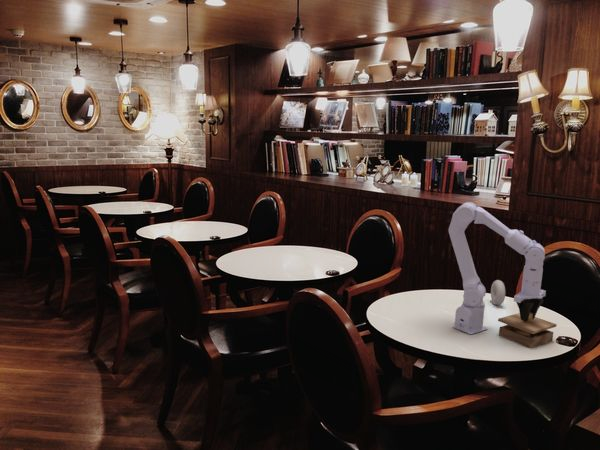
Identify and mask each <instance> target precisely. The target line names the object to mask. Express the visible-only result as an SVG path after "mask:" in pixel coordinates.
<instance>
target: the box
mask: <svg viewBox="0 0 600 450" xmlns="http://www.w3.org/2000/svg"><path fill="white" fill-rule="evenodd" d="M517 330H521V329H518V328H516V327H513V326H510V325H507V324H505V325H502V326H500V327H499V331H498V336H500V337H502V338H505V339H507V340H510V341H512V342H514V343H517V344H520V345H522V346H525V347H527V348H530V349H532V348H534V347H538V346H541V345H544V344H547V343H550V342H552V341H553V340H554V339H553V337H554V332H553V331H551V330H549V329H547V330H544V331H541V332H538V333H534V334H532V333H530V335H533V337H531V336H529V337H527V336H525V335H522V334H520V333H517Z"/></svg>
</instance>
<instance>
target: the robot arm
mask: <svg viewBox="0 0 600 450" xmlns="http://www.w3.org/2000/svg"><path fill="white" fill-rule="evenodd" d="M473 221H474V222H473ZM472 222H473V223H474V224H477V225H478V224H479V225H480V224H482V225H485V226H487V227H488V228H489V229H491V230H493V231H494V232H496V233H497V234H499V236H502V237H503V238H504V243H505V244H506V245H507V246H508V247H510V248H511V249H513V250H514V251H516V252H517V253H519V255H523V256H524V258H525V263H524V264H525V265H524V266H523V273H522V281H521V291H519V292H518V293H516V294H515V295H514V297H513V302H515V303H516V305H517V307H518V310H519V313H520V317H521V320H523V321H528V318H529V314H530V312H532V313H533V318H532V320H533V319H534V318H535V317H536V315H537V313H538V310H539V309H540V307H541V305H542V304H543V303H544V299H543V298H544V297H546V295H547V293H546V292H547V290H544V289H542V288H541V287H542V280H543V272H544V269H543V268H544V267H543V266H544V261H545V258H546V256H545V254H546V250H545V248H544V246H543V245H541V243H540V242H539V243H538V242H537V241H536V240H535V239H533V240H532V239H531V238H530V237H528V235H527V236H526V235H525V233H524V232H525V231H523V230H521V229H519V230H518V229H516V228H515V229H510V228H509V227H508V226H506V225H505V224H503V222H501V221H500V220H498V219H497V218H496V217H495V216H493V215H492V214H491V213H489V212H488V211H487V210H485V209H484V208H483V207H482V206H477V204H476V203H474V202H472V201H466V202H464V203H463V204H461V205H460V206H458V207H457V208H456V210H455V211H454V212H453V214H452V217H451V221H450V224H449V226H448V234H449V239H450V241H451V245H452V247H453V251H454V254H455V257H456V261H457V265H458V268H459V272H460V274H461V275H460V276H461V278H462V287H463V295H462V296H463V301H462V304H461V305H460V306H459V307H457V308H456V310H455V318H454V325H452V328H454V329H455V330H459V331H461V332H464V333H466V334H469V335H473V334H477V333H481V332H484V331H487V330H489V328H488V327H486V326H484V319H485V318H484V317H485V316H484V315H485V305H486V303H485V301H484V297H485V296H486V293H487V290H486V287H485V286H484V284H483V283H482V282H481V279H480V277H479V276H478V273H477V271H476V268H475V264H474V261H473V260H474V259H473V256H472V254H471V251H470V247H469V244H468V241H467V238H466V237H467V236H466V234H465V231H466V229H467V228H468V227H469V225H470V224H471V223H472Z"/></svg>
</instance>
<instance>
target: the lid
mask: <svg viewBox="0 0 600 450" xmlns="http://www.w3.org/2000/svg"><path fill="white" fill-rule="evenodd" d="M532 318H533V313H532V312H530V314H529V318H528V321H523V320H521V317H520V312H518V313H514V314H511V315H510V314H509V315H507V316H503V317H500V318H497V319H498V320H497V321H498V322H500V323H503V324H505V325H510V326H513V327H516V328H518V329H521V330H524V331H526V332H529V333H532V334H531V335H533V334H534V333H538V332H541V331H544V330H549V329H553V328H556V327H557V323H553V322H550V321H548V320H545V319H542V318H539V317H536V316H535V318H534V319H533V320H532Z"/></svg>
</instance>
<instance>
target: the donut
mask: <svg viewBox="0 0 600 450" xmlns="http://www.w3.org/2000/svg"><path fill="white" fill-rule="evenodd" d="M490 287H491V288H490V298H491V301H492V303H493V304H494V305H496V306H501V305H502V304H503V303H504V301H505V298H506V286H505V283H504V282H503V281H502V280H500V279H496V280H494V281H493V282H492V284H491V286H490Z"/></svg>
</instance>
